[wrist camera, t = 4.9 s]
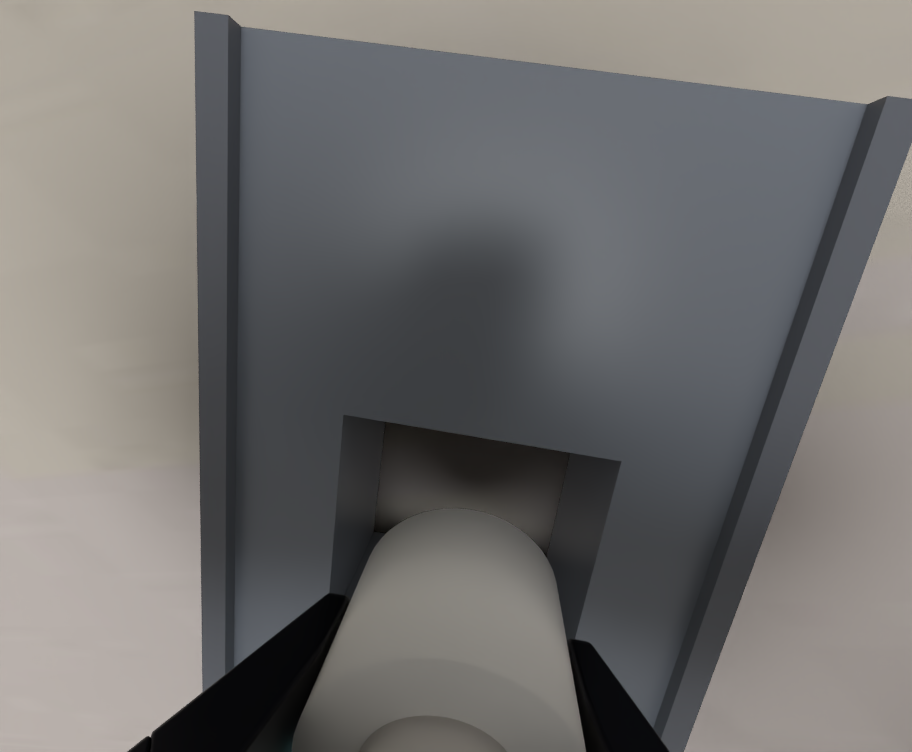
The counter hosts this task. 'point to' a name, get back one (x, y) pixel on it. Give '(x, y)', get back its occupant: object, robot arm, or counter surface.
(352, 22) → the counter surface
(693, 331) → the housing
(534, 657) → the white hollow cylinder
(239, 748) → the robot arm
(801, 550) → the counter surface
